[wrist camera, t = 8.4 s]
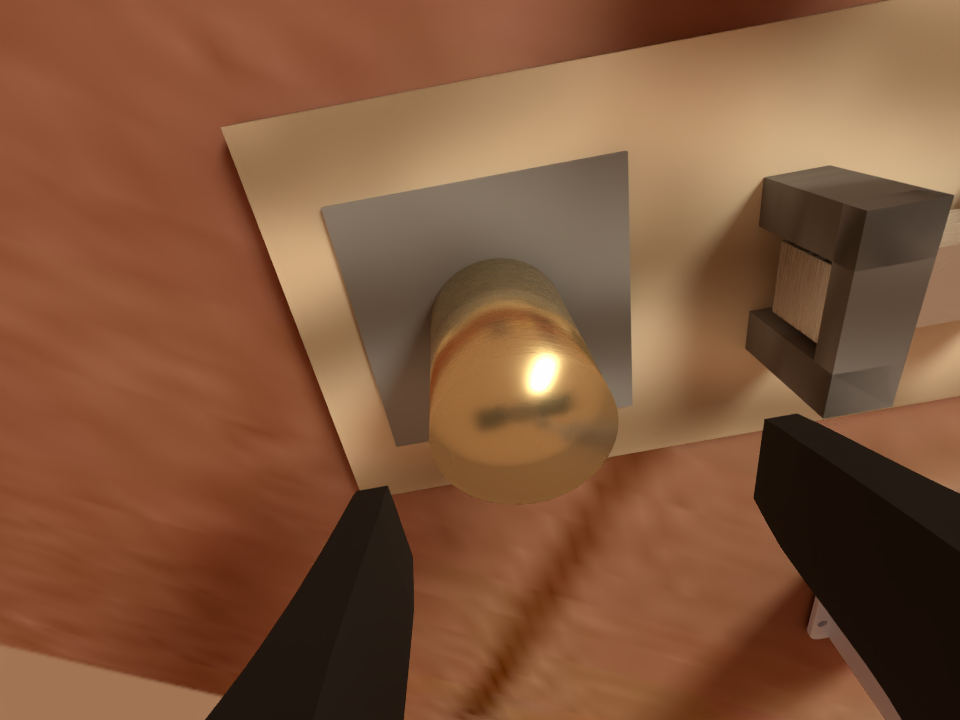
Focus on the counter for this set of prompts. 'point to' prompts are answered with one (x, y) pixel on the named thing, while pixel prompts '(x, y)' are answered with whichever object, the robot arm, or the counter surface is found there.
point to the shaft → (805, 276)
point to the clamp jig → (634, 224)
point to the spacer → (514, 388)
